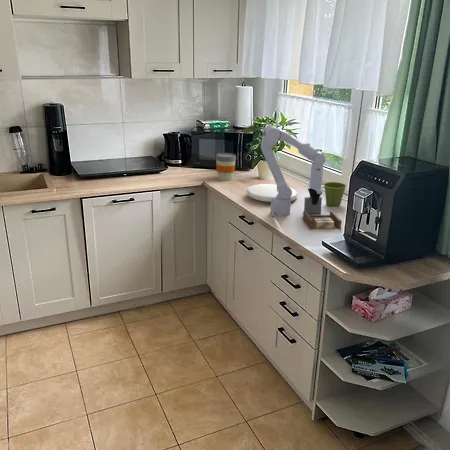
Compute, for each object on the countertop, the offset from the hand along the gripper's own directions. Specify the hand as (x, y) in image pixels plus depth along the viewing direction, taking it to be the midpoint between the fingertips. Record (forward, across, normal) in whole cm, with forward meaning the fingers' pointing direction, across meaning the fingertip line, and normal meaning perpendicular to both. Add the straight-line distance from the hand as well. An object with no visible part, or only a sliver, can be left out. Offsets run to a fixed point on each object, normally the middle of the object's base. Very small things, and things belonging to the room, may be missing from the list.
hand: (313, 203), depth 229 cm
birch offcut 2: (+5, -20, 0) cm, 20 cm away
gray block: (+5, 0, 0) cm, 5 cm away
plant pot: (+6, +15, -15) cm, 22 cm away
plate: (+6, +29, +15) cm, 33 cm away
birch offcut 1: (+5, -16, 0) cm, 17 cm away
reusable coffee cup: (+6, +69, +37) cm, 79 cm away
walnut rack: (+6, -14, 0) cm, 16 cm away
